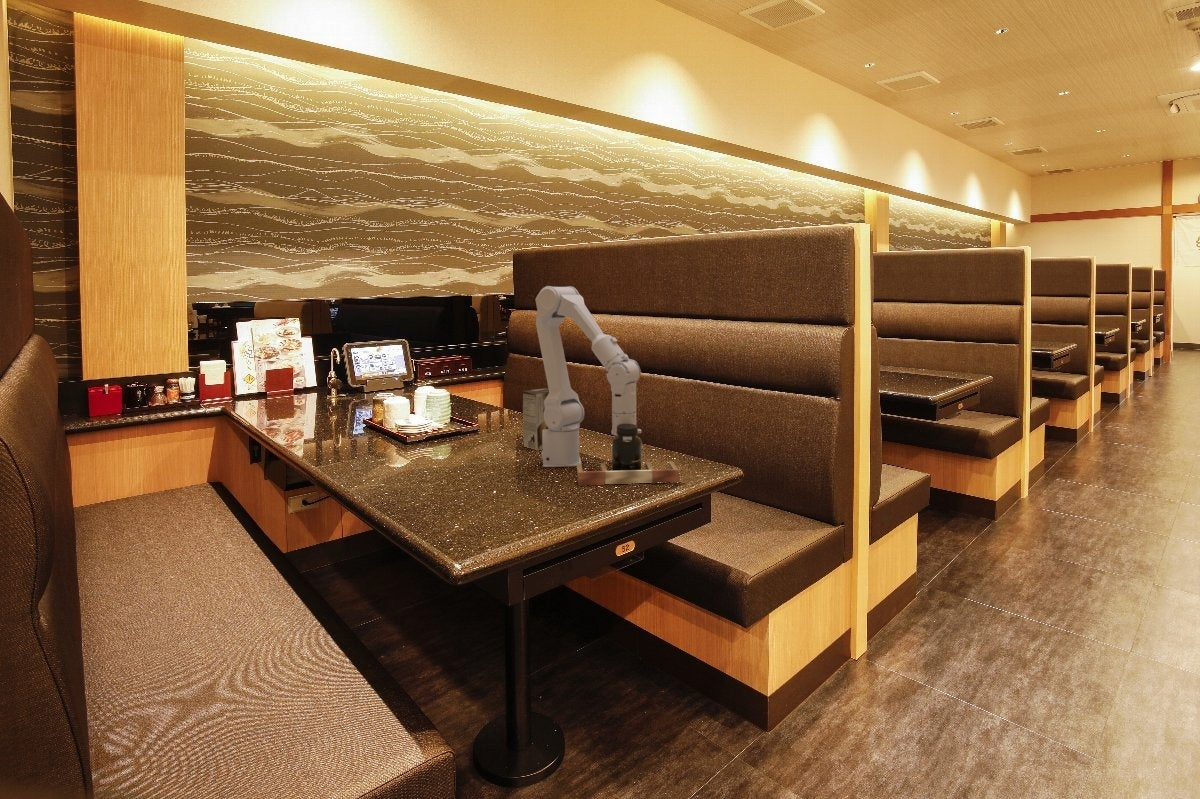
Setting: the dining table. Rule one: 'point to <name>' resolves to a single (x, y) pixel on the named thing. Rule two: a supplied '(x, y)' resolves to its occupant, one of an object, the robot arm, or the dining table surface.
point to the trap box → (627, 475)
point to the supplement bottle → (626, 448)
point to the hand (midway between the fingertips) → (624, 468)
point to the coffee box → (534, 417)
